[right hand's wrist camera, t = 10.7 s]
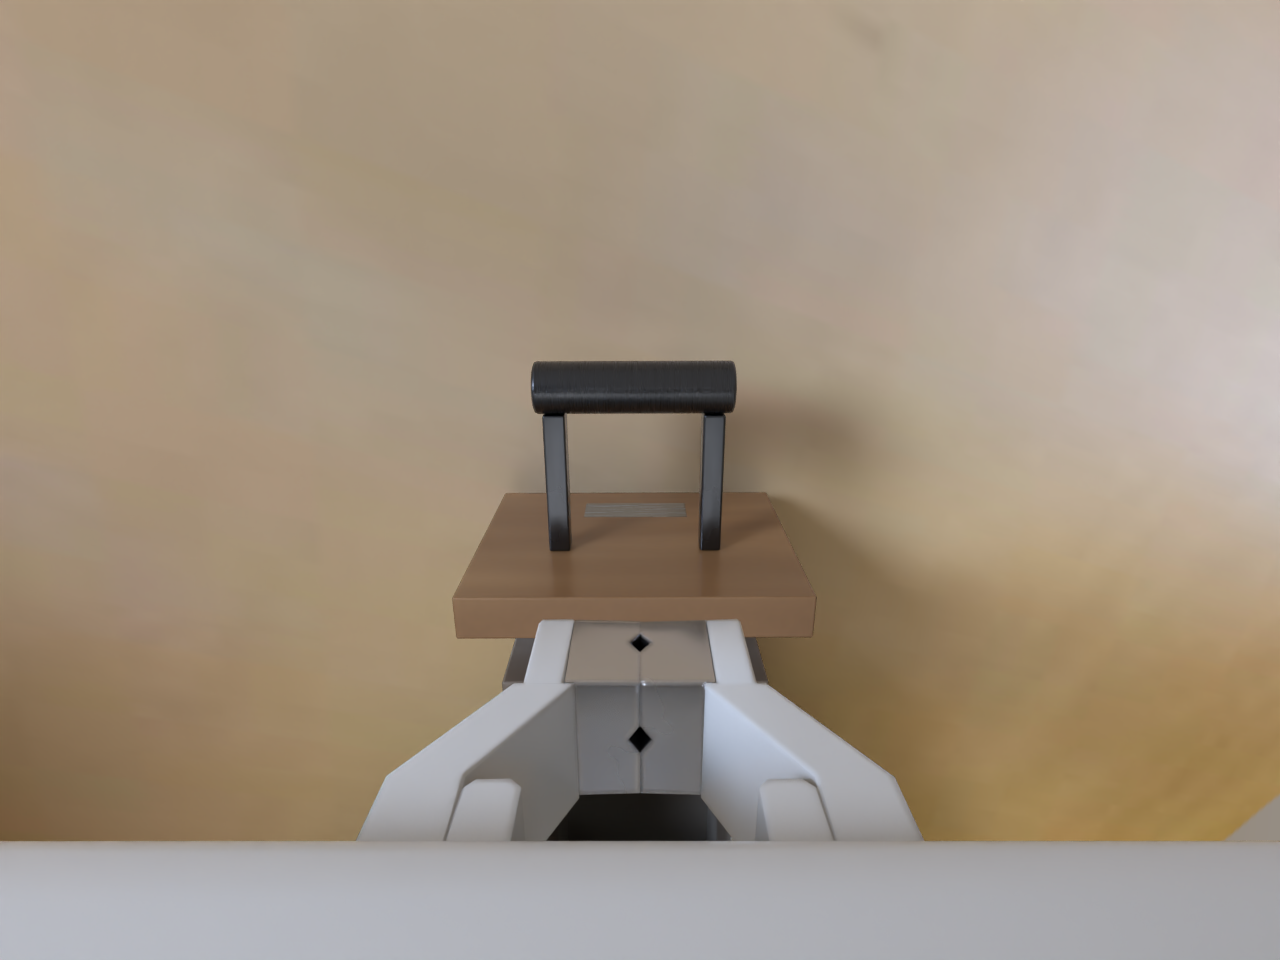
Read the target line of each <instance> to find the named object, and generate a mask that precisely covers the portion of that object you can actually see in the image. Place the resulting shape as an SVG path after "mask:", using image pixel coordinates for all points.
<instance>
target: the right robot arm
mask: <svg viewBox="0 0 1280 960" xmlns="http://www.w3.org/2000/svg"><path fill="white" fill-rule="evenodd" d="M625 793H654V794H689V795H701V798H702V800H703V801H704V802H705V804H706V805H707V806H708V807H709V809H710V810H711V811H712V813H713V814H714V815H715V816H716V818H717V819H718V820H719V822H720V823H721V824H722V825H723V827H724V828H725V829H726V831H727V832H728V833H729V834H730V836H731V837H732V838H733V840H734V841H546V840H547V839H548V838H549V836H550V835H551V834H552V832H553V831H554V830H555V829H556V827H557V826H558V825H559V823H560V822H561V821H562V820H563V818H564V817H565V816H566V814H567V813H568V812H569V811H570V809H571V808H572V807H573V805H574V804H575V803H576V802H577V800H578V799H579V795H590V794H625ZM0 960H1280V841H924V839H923V837H922V835H921V833H920V831H919V828H918V826H917V824H916V822H915V820H914V818H913V816H912V813H911V811H910V809H909V807H908V805H907V803H906V800H905V798H904V796H903V794H902V792H901V790H900V788H899V785H898V783H897V781H896V779H895V777H894V776H892V775H891V774H890V773H888V772H887V771H886V770H884V769H883V768H882V767H880V766H879V765H877V764H876V763H875V762H873V761H872V760H871V759H869V758H868V757H866V756H865V755H864V754H862V753H861V752H860V751H858V750H857V749H855V748H854V747H853V746H851V745H850V744H849V743H847V742H846V741H845V740H843V739H842V738H840V737H839V736H838V735H836V734H835V733H834V732H832V731H831V730H829V729H828V728H827V727H825V726H824V725H823V724H821V723H820V722H818V721H817V720H816V719H814V718H813V717H812V716H810V715H809V714H808V713H806V712H805V711H803V710H802V709H801V708H799V707H798V706H797V705H795V704H794V703H792V702H791V701H790V700H788V699H787V698H786V697H784V696H783V695H781V694H780V693H779V692H777V691H776V690H775V689H773V688H772V687H771V686H769V685H768V684H766V683H756V679H755V675H754V671H753V667H752V664H751V660H750V656H749V652H748V648H747V645H746V641H745V637H744V633H743V629H742V626H741V622H740V621H739V620H738V619H723V620H692V621H651V622H640V621H617V620H575V621H574V620H573V619H554V620H542V621H541V622H540V623H539V625H538V629H537V633H536V636H535V640H534V644H533V648H532V652H531V656H530V659H529V663H528V667H527V671H526V675H525V679H524V683H514V684H512V685H511V686H509V687H508V688H507V689H505V690H504V691H503V692H501V693H500V694H498V695H497V696H496V697H494V698H493V699H492V700H490V701H489V702H487V703H486V704H485V705H483V706H482V707H481V708H479V709H478V710H476V711H475V712H474V713H472V714H471V715H470V716H468V717H467V718H465V719H464V720H463V721H461V722H460V723H459V724H457V725H456V726H454V727H453V728H452V729H450V730H449V731H448V732H446V733H445V734H443V735H442V736H441V737H439V738H438V739H437V740H435V741H434V742H432V743H431V744H430V745H428V746H427V747H425V748H424V749H423V750H421V751H420V752H419V753H417V754H416V755H414V756H413V757H412V758H410V759H409V760H408V761H406V762H405V763H403V764H402V765H401V766H399V767H398V768H397V769H395V770H394V771H392V772H391V773H390V774H388V775H387V776H386V778H385V780H384V782H383V784H382V786H381V788H380V790H379V792H378V795H377V797H376V799H375V801H374V803H373V805H372V807H371V809H370V812H369V814H368V816H367V818H366V820H365V822H364V824H363V826H362V828H361V831H360V833H359V835H358V837H357V839H356V841H0Z"/></svg>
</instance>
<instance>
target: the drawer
mask: <svg viewBox="0 0 1280 960" xmlns="http://www.w3.org/2000/svg"><path fill="white" fill-rule="evenodd" d="M736 391H737V379H736V368H735V364H734V362H732V361H539V362H535V363H534V364H533V367H532V372H531V397H532V405H533V409H534V411H535V413H538V414H544V415H543V417H542V421H543V439H544V458H545V476H546V493H506V494H505V495H504V497H503V499H502V501H501V503H500V505H499V507H498V509H497V511H496V513H495V515H494V517H493V519H492V521H491V523H490V525H489V527H488V529H487V531H486V533H485V535H484V537H483V539H482V541H481V543H480V545H479V547H478V549H477V550H476V552H475V554H474V556H473V558H472V560H471V562H470V564H469V566H468V568H467V570H466V572H465V574H464V576H463V578H462V580H461V582H460V584H459V586H458V588H457V590H456V592H455V594H454V596H453V598H452V602H453V611H454V620H455V629H456V637H457V638H516V639H515V642H514V645H513V649H512V652H511V655H510V659H509V662H508V665H507V669H506V672H505V675H504V678H503V682H502V688H503V691H504V690H505V689H507V688H508V687H509V686H511V685H512V684H514V683H524V679H525V675H526V671H527V667H528V663H529V659H530V656H531V652H532V648H533V644H534V640H535V636H536V633H537V629H538V625H539V623H540V622H541V621H542V620H554V619H573V620H574V621H575V620H617V621H640V622H651V621H692V620H723V619H738V620H739V621H740V622H741V626H742V629H743V633H744V637H745V641H746V645H747V648H748V652H749V656H750V660H751V664H752V667H753V671H754V675H755V679H756V683H766V684H768V679H767V676H766V672H765V669H764V665H763V662H762V658H761V655H760V651H759V648H758V644H757V641H756V637H812V636H813V629H814V619H815V609H816V598H817V597H816V595H815V593H814V591H813V589H812V587H811V585H810V583H809V581H808V578H807V576H806V574H805V572H804V570H803V568H802V566H801V564H800V562H799V560H798V558H797V556H796V554H795V552H794V549H793V547H792V545H791V543H790V541H789V539H788V537H787V535H786V533H785V531H784V529H783V527H782V525H781V523H780V520H779V518H778V516H777V514H776V512H775V510H774V508H773V506H772V504H771V502H770V500H769V498H768V496H767V494H766V493H765V492H759V493H723V472H724V448H725V424H726V416H725V414H724V413H731V412H733V410H734V408H735V403H736ZM614 413H702V426H701V461H700V493H570V483H569V459H568V435H567V414H614ZM546 841H734V840H733V838H732V837H731V836H730V834H729V833H728V832H727V831H726V829H725V828H724V827H723V825H722V824H721V823H720V822H719V820H718V819H717V818H716V816H715V815H714V814H713V813H712V811H711V810H710V809H709V807H708V806H707V805H706V804H705V802H704V801H703V800H702V798H701V795H689V794H654V793H625V794H590V795H579V799H578V800H577V802H576V803H575V804H574V805H573V807H572V808H571V809H570V811H569V812H568V813H567V814H566V816H565V817H564V818H563V820H562V821H561V822H560V823H559V825H558V826H557V827H556V829H555V830H554V831H553V832H552V834H551V835H550V836H549V838H548V839H547V840H546Z"/></svg>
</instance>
